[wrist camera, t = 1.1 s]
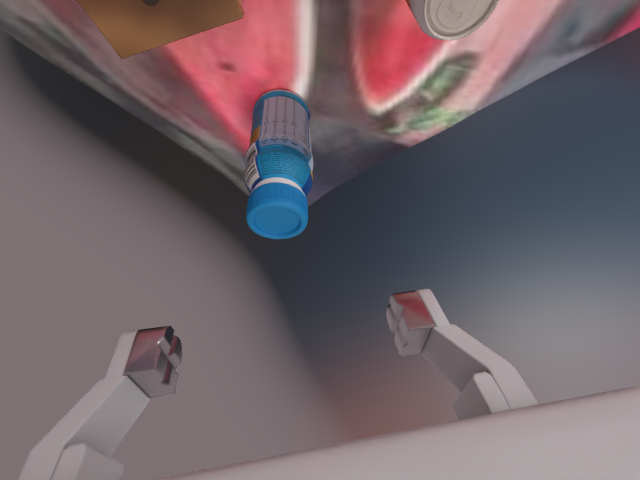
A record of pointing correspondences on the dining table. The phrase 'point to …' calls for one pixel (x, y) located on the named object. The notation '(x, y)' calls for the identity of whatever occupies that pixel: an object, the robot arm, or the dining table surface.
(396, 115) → the dining table surface
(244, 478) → the robot arm
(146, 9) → the bread box
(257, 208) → the beverage bottle
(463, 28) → the yellow cylinder
